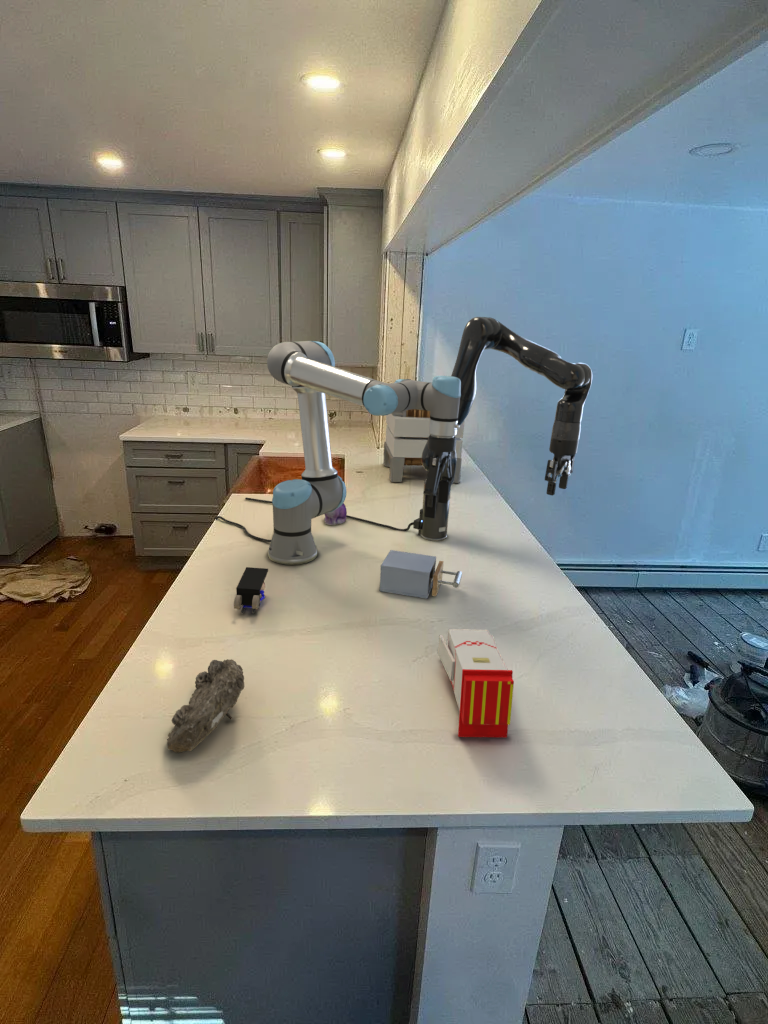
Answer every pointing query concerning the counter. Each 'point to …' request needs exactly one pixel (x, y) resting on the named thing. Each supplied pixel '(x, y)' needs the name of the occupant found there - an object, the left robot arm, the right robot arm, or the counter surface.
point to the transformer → (411, 442)
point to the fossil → (206, 705)
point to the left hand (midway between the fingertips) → (436, 509)
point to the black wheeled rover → (250, 589)
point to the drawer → (438, 578)
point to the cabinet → (407, 573)
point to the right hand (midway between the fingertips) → (556, 491)
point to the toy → (478, 682)
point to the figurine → (336, 516)
